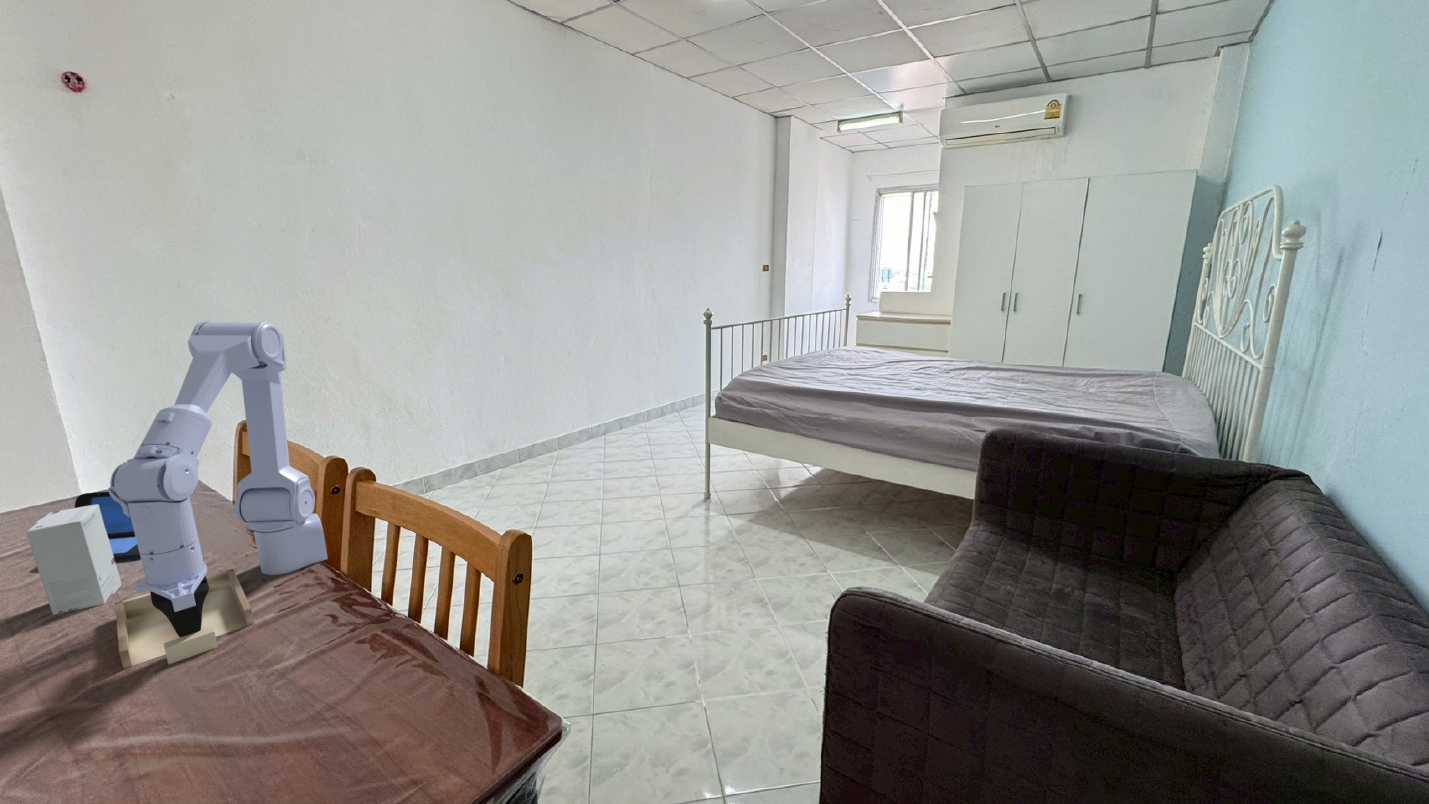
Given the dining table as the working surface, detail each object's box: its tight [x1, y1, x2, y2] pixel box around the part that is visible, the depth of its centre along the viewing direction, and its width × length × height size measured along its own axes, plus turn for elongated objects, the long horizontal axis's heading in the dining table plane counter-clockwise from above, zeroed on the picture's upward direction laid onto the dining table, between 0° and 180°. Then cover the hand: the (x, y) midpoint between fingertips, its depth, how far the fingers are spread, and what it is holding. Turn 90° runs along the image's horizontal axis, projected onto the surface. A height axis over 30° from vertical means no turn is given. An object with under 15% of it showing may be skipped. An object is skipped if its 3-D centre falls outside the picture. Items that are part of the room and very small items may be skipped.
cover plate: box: [164, 627, 218, 665], centre depth 75 cm, size 10×8×4 cm
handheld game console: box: [74, 491, 141, 563], centre depth 105 cm, size 16×13×9 cm
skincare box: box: [25, 504, 122, 616], centre depth 88 cm, size 8×6×15 cm
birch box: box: [114, 568, 255, 670], centre depth 84 cm, size 14×16×4 cm
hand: (190, 633), depth 78 cm, fingers closed
